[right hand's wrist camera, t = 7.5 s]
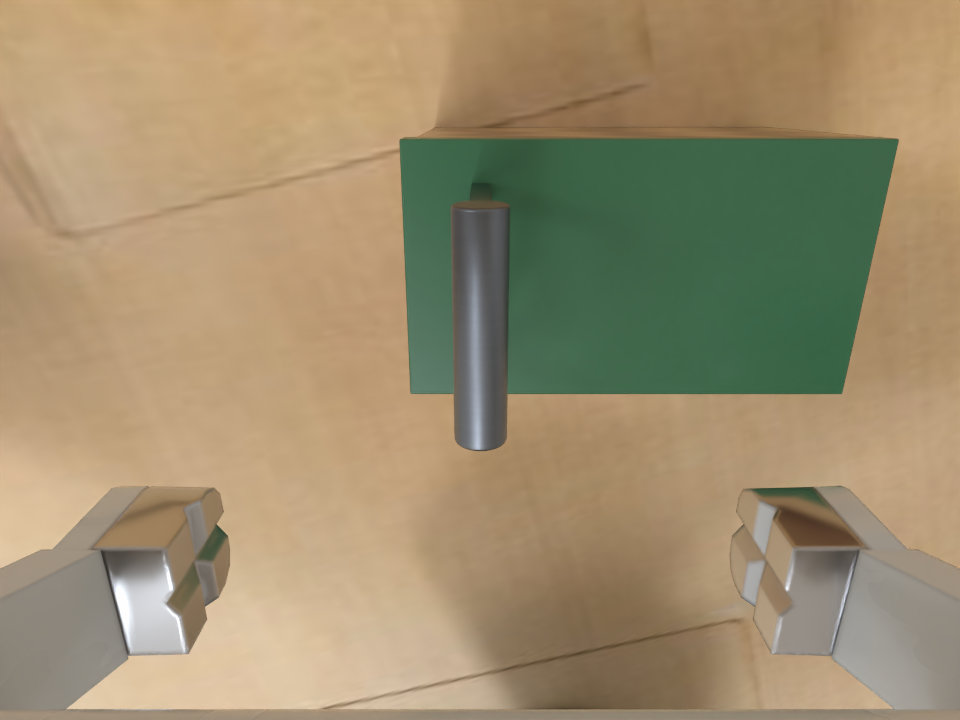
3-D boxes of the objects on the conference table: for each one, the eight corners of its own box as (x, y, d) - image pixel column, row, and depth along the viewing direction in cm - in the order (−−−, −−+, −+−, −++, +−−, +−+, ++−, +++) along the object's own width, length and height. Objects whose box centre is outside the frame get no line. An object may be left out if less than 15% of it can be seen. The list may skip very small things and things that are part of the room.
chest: (437, 313, 37) (423, 381, 28) (433, 127, 33) (415, 137, 24) (742, 313, 37) (826, 381, 28) (771, 127, 33) (878, 137, 24)
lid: (413, 382, 28) (387, 490, 20) (403, 137, 24) (366, 153, 16) (827, 382, 28) (961, 491, 20) (879, 136, 24) (1068, 153, 16)
